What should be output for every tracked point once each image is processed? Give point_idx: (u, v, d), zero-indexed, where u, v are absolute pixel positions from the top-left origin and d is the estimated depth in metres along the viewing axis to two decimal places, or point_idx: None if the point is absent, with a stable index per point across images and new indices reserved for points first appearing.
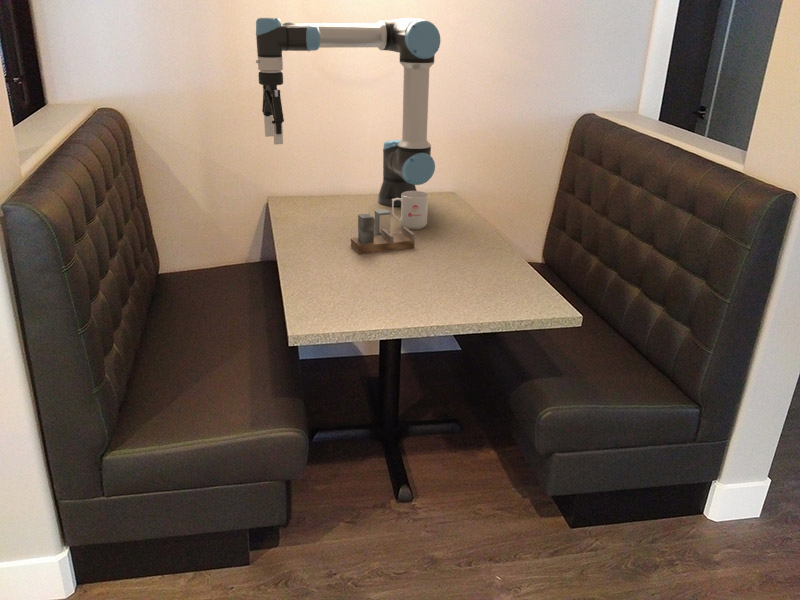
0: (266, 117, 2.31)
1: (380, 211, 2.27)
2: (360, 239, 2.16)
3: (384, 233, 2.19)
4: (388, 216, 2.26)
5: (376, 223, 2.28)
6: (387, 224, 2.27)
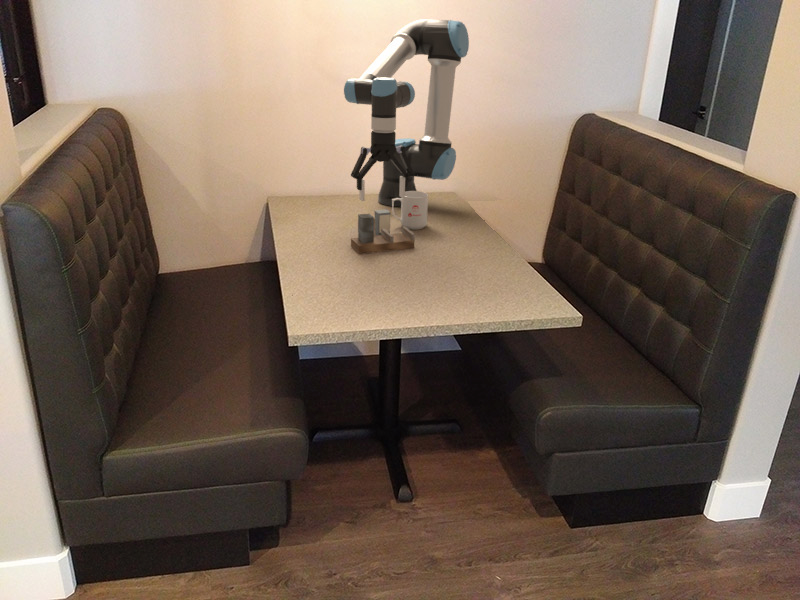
0: (400, 177, 2.26)
1: (380, 211, 2.27)
2: (360, 239, 2.16)
3: (384, 233, 2.19)
4: (388, 216, 2.26)
5: (376, 223, 2.28)
6: (387, 224, 2.27)
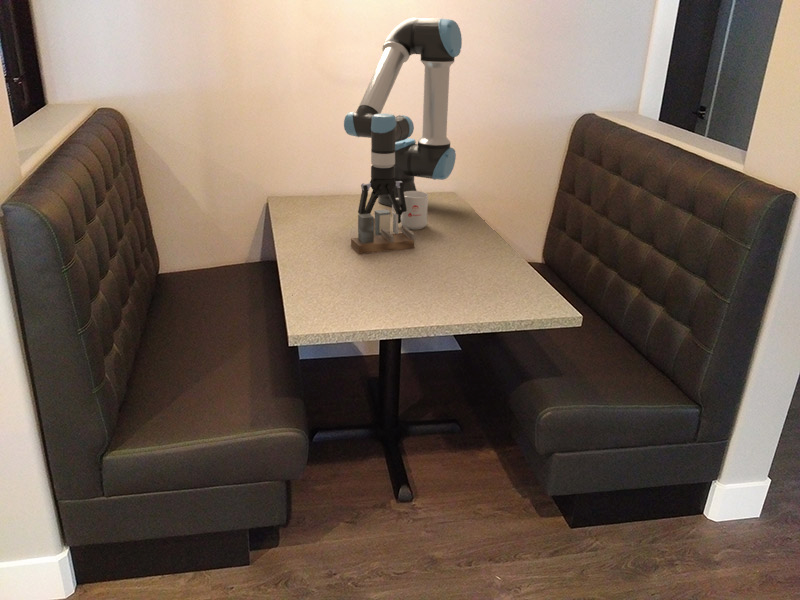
0: (393, 214, 2.30)
1: (380, 211, 2.27)
2: (360, 239, 2.16)
3: (384, 233, 2.19)
4: (388, 216, 2.26)
5: (376, 223, 2.28)
6: (387, 224, 2.27)
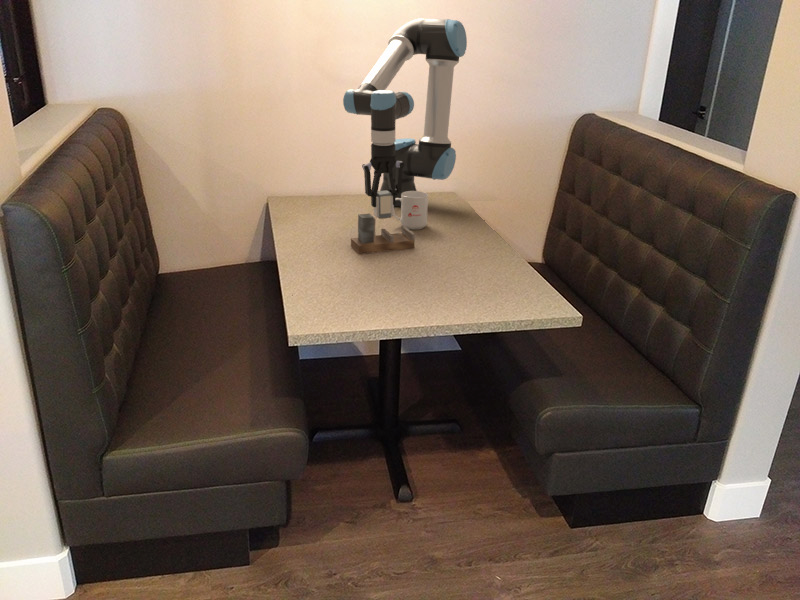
0: None
1: (381, 192, 2.25)
2: (360, 239, 2.16)
3: (384, 233, 2.19)
4: (389, 197, 2.24)
5: None
6: (388, 205, 2.25)
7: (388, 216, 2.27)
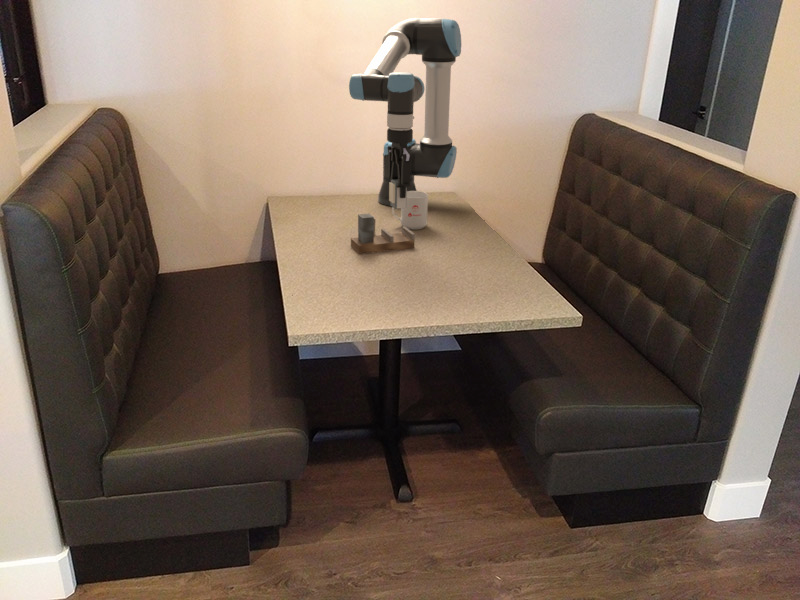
0: None
1: None
2: (360, 239, 2.16)
3: (384, 233, 2.19)
4: (392, 186, 2.12)
5: None
6: (392, 194, 2.13)
7: (394, 206, 2.15)
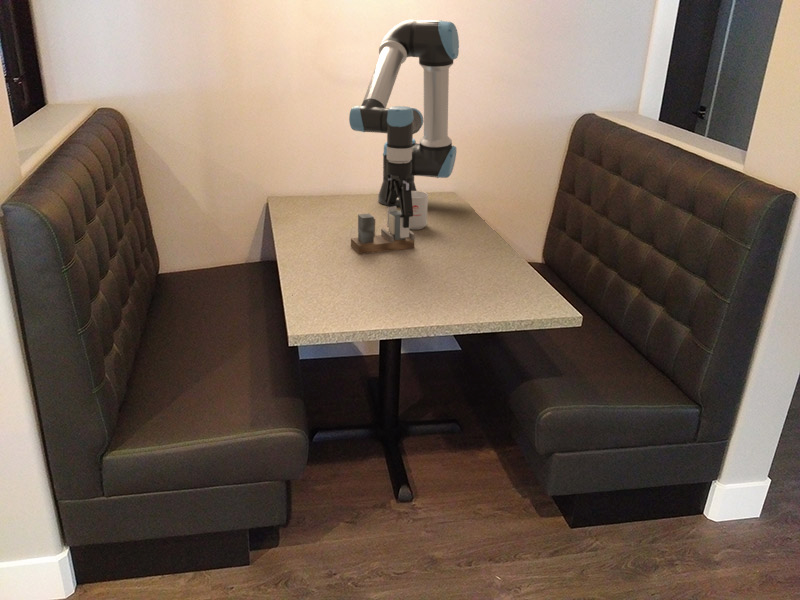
0: None
1: (397, 212, 2.18)
2: (360, 239, 2.16)
3: (384, 233, 2.19)
4: (392, 218, 2.16)
5: None
6: (391, 226, 2.17)
7: None
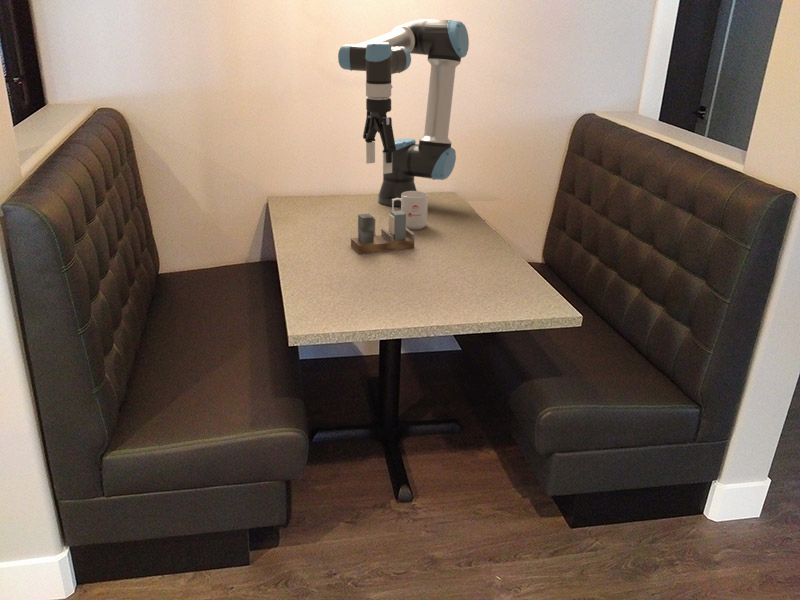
0: None
1: (397, 212, 2.18)
2: (360, 239, 2.16)
3: (384, 233, 2.19)
4: (392, 218, 2.16)
5: None
6: (391, 226, 2.17)
7: None
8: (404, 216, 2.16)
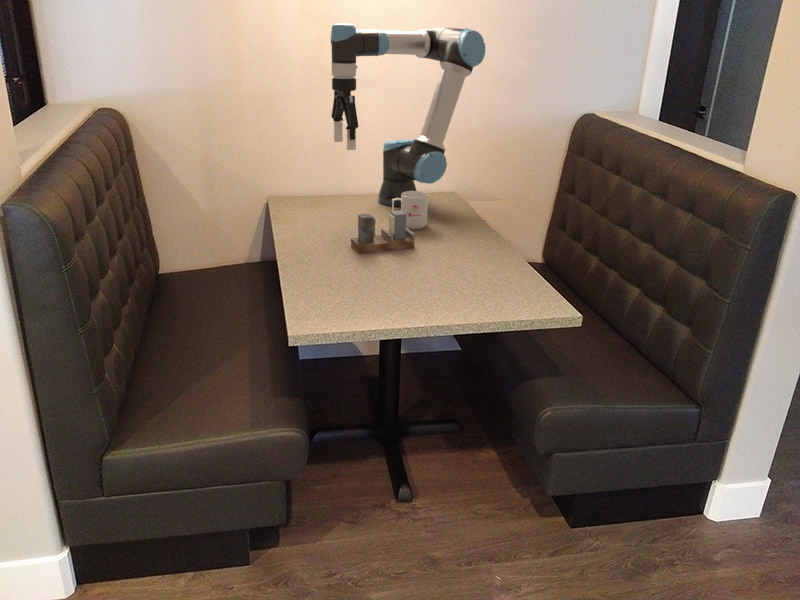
0: None
1: (397, 212, 2.18)
2: (360, 239, 2.16)
3: (384, 233, 2.19)
4: (392, 218, 2.16)
5: None
6: (391, 226, 2.17)
7: None
8: (404, 216, 2.16)
